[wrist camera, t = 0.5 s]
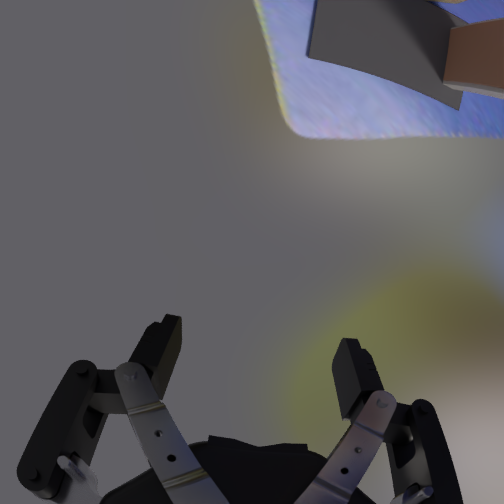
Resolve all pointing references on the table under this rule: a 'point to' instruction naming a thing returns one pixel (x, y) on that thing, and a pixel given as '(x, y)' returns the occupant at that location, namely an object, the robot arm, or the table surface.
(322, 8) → the mat
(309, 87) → the table surface
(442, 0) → the stack of blocks
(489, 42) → the tile
